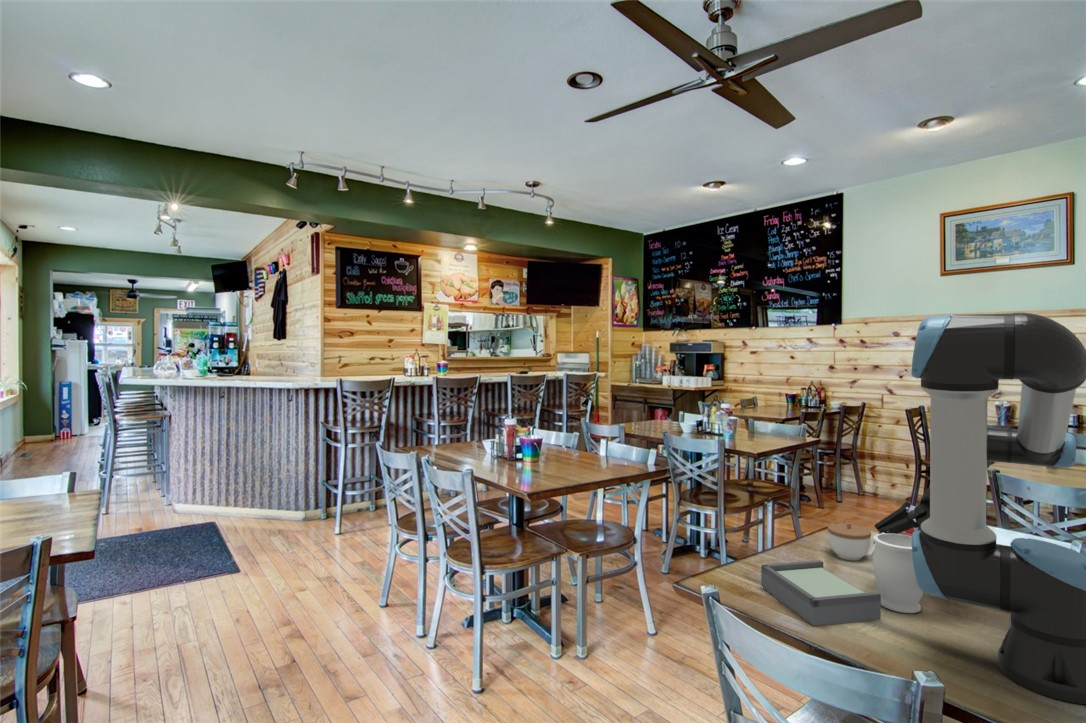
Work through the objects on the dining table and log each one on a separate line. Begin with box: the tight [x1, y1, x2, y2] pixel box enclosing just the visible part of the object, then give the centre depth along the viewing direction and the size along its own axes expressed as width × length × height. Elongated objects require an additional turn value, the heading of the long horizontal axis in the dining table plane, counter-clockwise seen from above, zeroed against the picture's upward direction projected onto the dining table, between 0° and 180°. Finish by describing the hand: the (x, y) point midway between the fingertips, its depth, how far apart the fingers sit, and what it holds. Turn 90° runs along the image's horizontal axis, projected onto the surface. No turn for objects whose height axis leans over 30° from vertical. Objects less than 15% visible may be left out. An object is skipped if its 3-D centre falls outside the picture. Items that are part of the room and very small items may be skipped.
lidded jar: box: [827, 522, 872, 561], centre depth 160 cm, size 11×11×9 cm
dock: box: [760, 559, 882, 627], centre depth 132 cm, size 20×16×6 cm
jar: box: [872, 533, 924, 614], centre depth 130 cm, size 11×10×15 cm
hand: (898, 568), depth 130 cm, fingers open, 13 cm apart
